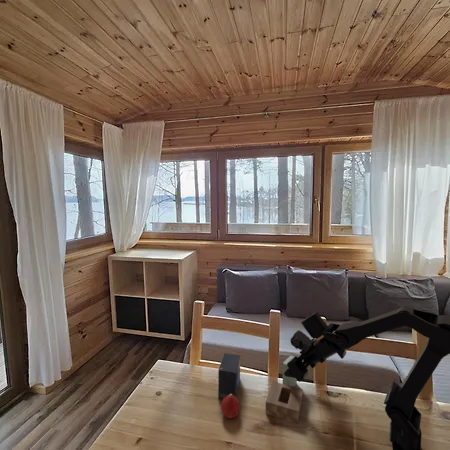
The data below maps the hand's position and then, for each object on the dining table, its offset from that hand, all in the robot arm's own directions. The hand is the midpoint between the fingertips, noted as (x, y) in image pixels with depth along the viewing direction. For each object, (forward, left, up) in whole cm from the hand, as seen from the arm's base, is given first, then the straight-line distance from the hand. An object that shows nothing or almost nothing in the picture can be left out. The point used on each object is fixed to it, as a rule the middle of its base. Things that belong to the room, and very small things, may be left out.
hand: (290, 368), depth 95 cm
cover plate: (0, 0, -8) cm, 8 cm away
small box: (+19, +10, -8) cm, 23 cm away
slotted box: (-1, +10, -8) cm, 13 cm away
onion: (+13, +21, -8) cm, 26 cm away
